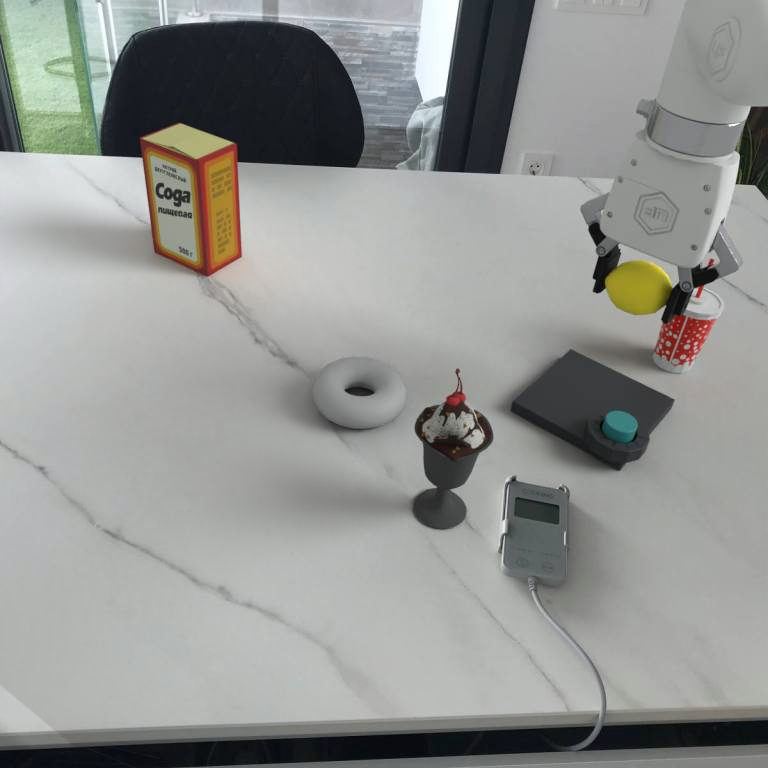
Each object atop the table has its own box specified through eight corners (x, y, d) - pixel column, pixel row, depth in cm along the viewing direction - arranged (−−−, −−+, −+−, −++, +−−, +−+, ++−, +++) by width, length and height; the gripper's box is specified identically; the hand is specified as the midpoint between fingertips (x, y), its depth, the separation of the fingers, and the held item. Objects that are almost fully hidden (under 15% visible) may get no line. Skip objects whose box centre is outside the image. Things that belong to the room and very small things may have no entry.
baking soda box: (154, 252, 103) (139, 134, 93) (189, 233, 107) (178, 119, 97) (208, 276, 99) (198, 157, 89) (241, 256, 104) (236, 140, 93)
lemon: (593, 314, 77) (607, 267, 74) (602, 288, 81) (616, 243, 78) (664, 334, 76) (681, 287, 72) (670, 306, 80) (687, 261, 76)
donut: (381, 449, 78) (420, 391, 85) (383, 424, 75) (423, 367, 82) (294, 416, 80) (338, 363, 87) (294, 391, 78) (339, 338, 85)
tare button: (638, 432, 78) (643, 420, 77) (625, 448, 76) (629, 436, 75) (610, 417, 80) (614, 406, 79) (596, 432, 78) (600, 421, 77)
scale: (680, 413, 85) (689, 392, 83) (624, 481, 76) (633, 460, 75) (567, 358, 92) (573, 337, 90) (504, 415, 83) (510, 394, 81)
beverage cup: (704, 359, 94) (747, 258, 85) (689, 384, 89) (733, 281, 81) (655, 339, 96) (692, 239, 87) (638, 363, 92) (675, 260, 83)
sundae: (440, 471, 76) (462, 349, 66) (489, 514, 72) (520, 391, 62) (389, 501, 72) (404, 377, 63) (437, 548, 68) (461, 423, 59)
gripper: (583, 110, 68) (541, 283, 79) (781, 174, 60) (703, 356, 72) (620, 91, 73) (576, 257, 84) (809, 149, 65) (731, 323, 76)
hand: (635, 301), depth 78 cm, fingers closed on lemon, 6 cm apart
